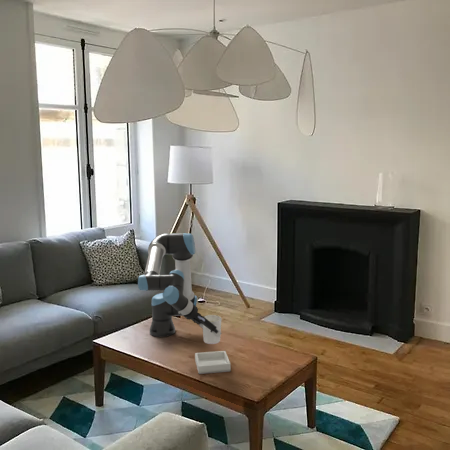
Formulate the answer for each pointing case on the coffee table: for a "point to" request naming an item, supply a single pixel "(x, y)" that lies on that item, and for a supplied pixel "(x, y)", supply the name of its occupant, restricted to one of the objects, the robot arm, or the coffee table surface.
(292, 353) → the coffee table surface
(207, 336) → the candle holder
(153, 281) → the robot arm
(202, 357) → the lipped tray
